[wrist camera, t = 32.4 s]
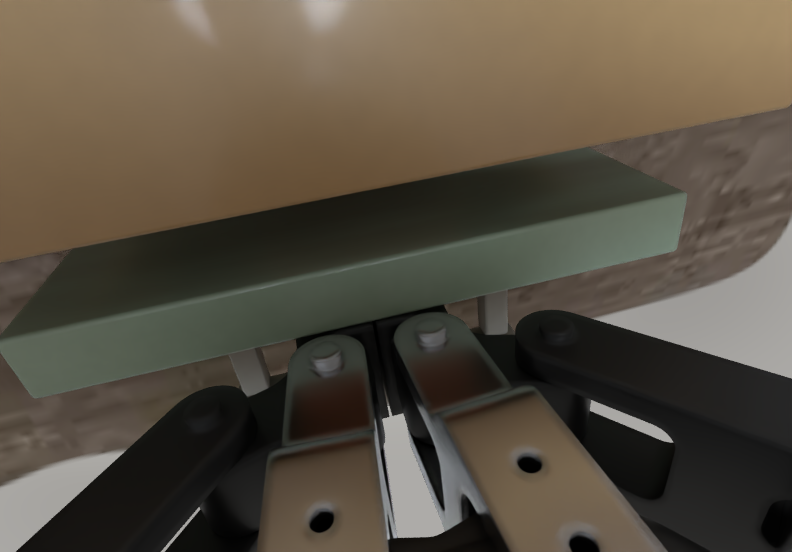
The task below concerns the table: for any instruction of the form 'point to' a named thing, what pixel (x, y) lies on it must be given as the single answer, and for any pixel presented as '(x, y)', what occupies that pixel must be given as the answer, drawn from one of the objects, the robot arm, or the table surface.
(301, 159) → the cabinet
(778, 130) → the table surface
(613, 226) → the drawer
